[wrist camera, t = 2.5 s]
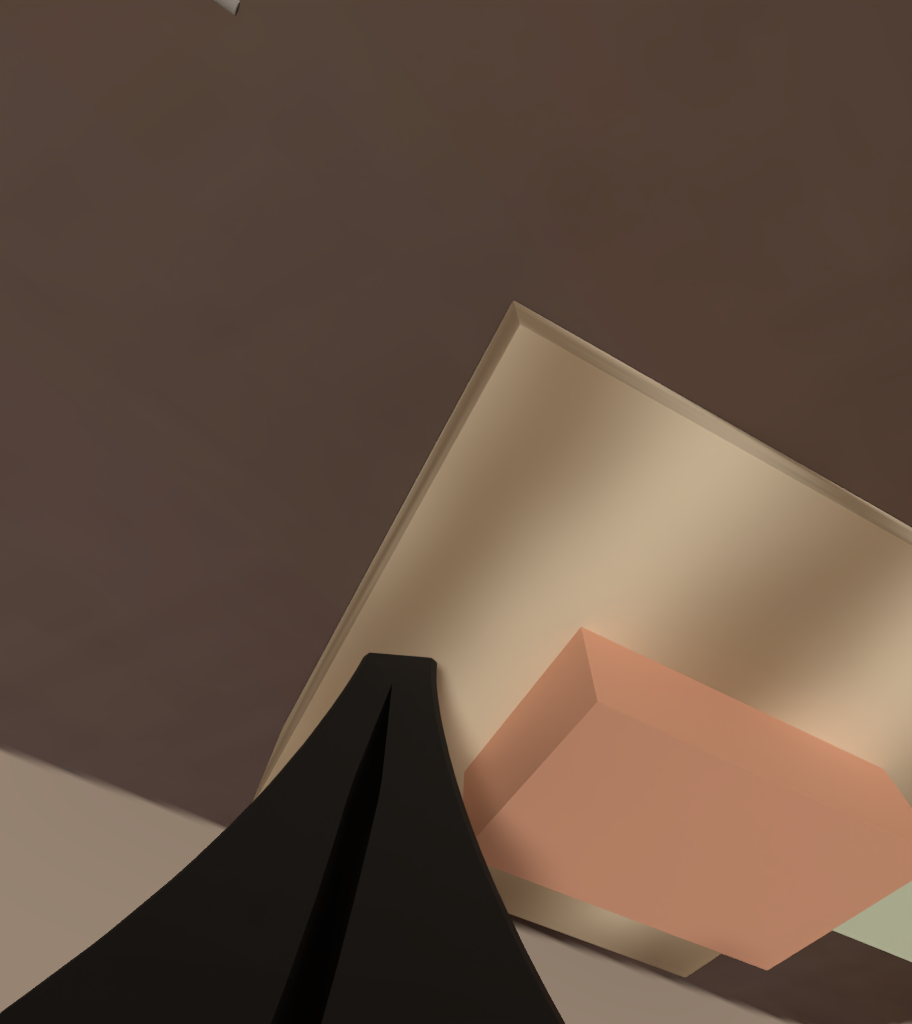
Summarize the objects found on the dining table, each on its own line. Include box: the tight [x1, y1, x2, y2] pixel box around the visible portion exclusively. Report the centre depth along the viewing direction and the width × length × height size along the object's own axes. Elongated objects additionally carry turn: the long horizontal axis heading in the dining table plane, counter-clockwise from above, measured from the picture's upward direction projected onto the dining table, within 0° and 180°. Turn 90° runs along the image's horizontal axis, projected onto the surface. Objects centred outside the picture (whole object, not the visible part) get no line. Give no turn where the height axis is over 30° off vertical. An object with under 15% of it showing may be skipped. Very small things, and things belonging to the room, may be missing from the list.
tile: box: [463, 627, 912, 970], centre depth 12 cm, size 8×5×2 cm, turn 62°
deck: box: [253, 300, 912, 977], centre depth 14 cm, size 14×14×3 cm
